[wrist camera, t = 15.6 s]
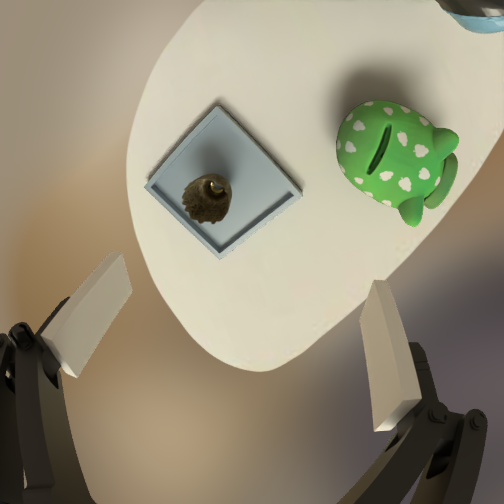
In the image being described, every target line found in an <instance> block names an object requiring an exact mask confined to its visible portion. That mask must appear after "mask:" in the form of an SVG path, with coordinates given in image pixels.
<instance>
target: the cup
mask: <svg viewBox="0 0 504 504" xmlns="http://www.w3.org/2000/svg"><path fill="white" fill-rule="evenodd" d="M214 182H215V183H216V184H219V185H220V186H221V187H222V189H219V190H218V189H216V188H215V187H214ZM184 191H185V192H184V194H183V196H182V199H183V200H182V204H183V205H186V207H185V209H184V211H185V212H189V217H190V219H192V220H196V221H198V223H199V224H203V223H204V222H211V224H215V223H216V222H220V221H222V220H223V219H224V217H225V216H226V214H228V211H229V207H230V203H231V199H232V189H231V186H230V183H229V182H228V181H227V180H226V179H225V178H224V177H223V176H221V175H219V174H214V173H211V174H205V175H203V176H201V177H199V178H197V179H195V180H194V181H192V182H190V183H189V184H188V186H187V187H186V188H185V189H184Z"/></svg>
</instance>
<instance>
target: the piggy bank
mask: <svg viewBox="0 0 504 504" xmlns="http://www.w3.org/2000/svg"><path fill="white" fill-rule="evenodd" d="M458 143H459V137H458V135H457V134H456V133H455V132H453V131H452V130H450V129H446V128H435V127H434V126H433V125H432V124H431V123H430V122H429V121H428V120H427V119H426V118H424V117H423V116H422V115H420V114H419V113H417V112H415V111H413V110H411V109H409V108H406V107H404V106H402V105H399V104H397V103H393V102H389V101H383V100H373V101H368V102H365V103H363V104H361V105H359V106H357V107H356V108H354V109H353V110H352V111H351V112H350V113H349V114H348V115H347V116H346V118H345V119H344V121H343V122H342V124H341V126H340V129H339V131H338V136H337V141H336V152H337V159H338V163H339V166H340V168H341V170H342V172H343V173H344V175H345V177H346V178H347V179H348V180H349V181H350V182H351V183H352V184H353V185H354V186H355V187H357V188H358V189H359V190H361V191H362V192H364V193H365V194H367V195H368V196H370V197H372V198H373V199H375V200H377V201H378V202H380V203H382V204H385V205H388V206H391V207H394V208H397V209H398V210H399V212H400V215H401V217H402V219H403V220H404V221H405V223H407V224H408V225H410V226H412V227H416V226H417V225H418V224H419V223H420V221H421V219H422V214H423V205H425V206H426V207H427V208H429V209H434V208H436V207H437V206H439V205H440V204H441V203H442V202H443V200H444V199H445V197H446V196H447V194H448V193H449V191H450V189H451V187H452V185H453V182H454V180H455V177H456V174H457V168H458V161H457V158H456V156H455V154H454V153H452V152H453V151H454V150H455V149H456V147H457V146H458Z"/></svg>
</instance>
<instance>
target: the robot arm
mask: <svg viewBox="0 0 504 504" xmlns="http://www.w3.org/2000/svg"><path fill="white" fill-rule="evenodd" d="M436 1H437V2H438V3H439V4H440V6H441V8H442V9H443V10H444V11H446V12H447V13H449V14H450V15H451V16H452V17H453V18H454V19H455V20H456V21H457V22H458V23H459V24H460V25H461V26H462V27H464V28H465V29H467V30H469V31H471V32H474V33H480V34H489V33H497V32H501V31H504V0H436ZM132 292H133V291H132V288H131V284H130V280H129V277H128V273H127V269H126V265H125V262H124V257H123V254H122V253H120V252H110V253H109V255H108V256H107V257H106V258H105V259H104V260H103V261H102V262H101V263H100V264H99V265H98V266H97V268H96V269H95V270H94V271H93V272H92V273H91V274H90V275H89V277H88V278H87V279H86V280H85V281H84V282H83V283H82V284H81V286H80V287H79V288H78V289H77V290H76V291H75V292H74V294H73V295H72V296H71V297H67V298H66V299H64V300H63V301H61V302H60V304H59V305H58V306H57V307H56V308H55V310H54V311H53V312H52V313H51V316H49V317H48V318H47V320H46V321H45V322H44V323H43V325H42V326H41V327H40V328H39V330H38V331H37V333H36V334H35V335H34V333H33V332H32V330H31V328H30V327H29V325H28V324H27V323H25V322H21V323H17V324H16V325H14V326H13V327H12V328H11V330H10V331H9V334H8V336H9V338H10V339H11V341H10V339H9V338H8V336H7V335H6V334H4V333H2V334H0V504H96V503H95V502H94V500H93V499H92V498H91V496H90V493H89V491H88V488H87V485H86V482H85V479H84V476H83V473H82V470H81V467H80V464H79V461H78V457H77V454H76V450H75V447H74V443H73V439H72V435H71V430H70V426H69V421H68V416H67V412H66V406H65V400H64V394H63V387H62V379H61V374H60V371H59V368H60V367H61V366H62V368H63V369H64V371H65V372H66V373H67V374H69V375H71V376H74V377H76V378H78V376H79V375H80V373H81V371H82V369H83V368H84V366H85V364H86V363H87V361H88V359H89V357H90V356H91V355H92V353H93V351H94V350H95V348H96V347H97V345H98V343H99V342H100V340H101V338H102V337H103V335H104V334H105V332H106V331H107V329H108V328H109V326H110V325H111V323H112V321H113V320H114V318H115V317H116V315H117V314H118V312H119V311H120V310H121V308H122V307H123V305H124V304H125V302H126V301H127V299H128V298H129V296H130V295H131V293H132ZM360 325H361V331H362V337H363V342H364V349H365V355H366V361H367V369H368V377H369V385H370V393H371V403H372V412H373V424H374V431H385V430H391V429H392V428H393V427H394V426H395V425H396V424H397V433H395V434H394V435H393V436H392V437H391V438H390V439H389V440H388V442H389V444H388V445H387V446H386V447H385V449H384V450H383V451H382V453H381V454H380V455H379V457H378V458H377V459H376V460H375V462H374V463H373V464H372V465H371V466H370V468H369V469H368V470H367V471H366V472H365V474H364V475H363V476H362V477H361V478H360V479H359V481H358V482H357V483H356V484H355V485H354V486H353V487H352V488H351V489H350V490H349V492H348V493H347V494H346V495H345V496H344V497H343V498H342V499H341V500H340V501H339V502H338V503H337V504H400V502H401V501H402V500H403V498H404V497H405V495H406V494H407V493H408V491H409V490H410V489H411V487H412V485H413V484H414V483H415V481H416V480H417V478H418V477H419V475H420V473H421V472H422V470H423V469H424V470H423V473H422V476H421V478H420V481H419V483H418V486H417V488H416V491H415V493H414V495H413V498H412V500H411V502H410V504H470V503H471V500H472V496H473V493H474V490H475V486H476V482H477V479H478V475H479V470H480V466H481V461H482V456H483V451H484V446H485V440H486V433H487V426H488V425H487V418H486V416H485V414H484V413H483V412H482V411H480V410H479V409H472V410H470V411H469V412H468V413H467V414H466V415H464V414H458V413H453V412H450V411H448V409H447V407H446V406H445V405H444V404H443V403H441V402H439V400H438V397H437V393H436V389H435V385H434V382H433V378H432V374H431V371H430V367H429V364H428V363H427V357H426V354H425V351H424V350H423V348H422V347H421V346H420V344H419V343H417V342H415V343H414V342H408V341H407V338H406V335H405V331H404V328H403V324H402V321H401V318H400V315H399V312H398V309H397V306H396V303H395V301H394V297H393V295H392V292H391V289H390V287H389V284H388V281H383V280H373V283H372V286H371V289H370V292H369V295H368V298H367V301H366V304H365V306H364V309H363V311H362V314H361V317H360ZM6 371H8V372H9V374H10V376H9V378H8V377H7V376H6ZM23 466H24V469H23ZM24 471H25V476H26V480H27V487H26V488H25V489H24Z"/></svg>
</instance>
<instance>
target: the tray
mask: <svg viewBox="0 0 504 504" xmlns="http://www.w3.org/2000/svg"><path fill="white" fill-rule="evenodd" d="M211 173H214V174H219V175H221V176H223V177H224V178H225V179H226V180H227V181H228V182H229V183H230V186H231V189H232V199H231V203H230V207H229V211H228V214H226V216H225V217H224V219H223V220H222V221H220V222H216V223H215V224H211V222H204V223H203V224H199V223H198V221H196V220H192V219H190V217H189V212H185V211H184V209H185V207H186V205H183V204H182V200H183V199H182V196H183V194H184V192H185V191H184V189H185V188H186V187H187V186H188V184H189V183H190V182H192V181H194V180H195V179H197V178H199V177H201V176H203V175H205V174H211ZM214 187H215V188H216V189H218V190H219V189H222V187H221V186H220V185H219V184H216V183H215V182H214ZM144 188H145V189H146V190H147V191H148V192H149V193H150V194H151V195H152V196H153V197H154V198H155V199H156V200H157V201H158V202H159V203H160V204H161V205H163V206H164V207H165V208H166V209H167V210H168V211H169V212H170V213H171V214H172V215H173V216H174V217H175V218H176V219H177V220H178V221H179V222H180V223H181V224H182V225H183V226H184V227H185V228H186V229H187V230H189V231H190V232H191V233H192V234H193V235H194V236H195V237H196V238H197V239H198V240H199V241H200V242H201V243H202V244H203V245H204V246H205V247H207V248H208V249H209V250H210V251H211V252H212V253H213V254H214V255H215V256H216V257H217V258H218V259H219V260H220V259H222V258H223V257H224V256H226V255H227V254H228V253H229V252H231V251H232V250H233V249H235V248H236V247H237V246H239V245H240V244H241V243H242V242H244V241H245V240H246V239H248V238H249V237H250V236H251V235H253V234H254V233H255V232H257V231H258V230H259V229H261V228H262V227H263V226H264V225H266V224H267V223H268V222H270V221H271V220H272V219H274V218H275V217H276V216H278V215H279V214H280V213H281V212H283V211H284V210H285V209H287V208H288V207H289V206H291V205H292V204H293V203H295V202H296V201H297V200H299V199H300V198H301V197H302V196H303V194H302V191H301V190H300V189H299V188H298V187H297V186H296V184H295V183H294V182H293V181H292V180H291V179H290V178H289V177H288V175H287V174H286V173H285V172H284V171H283V170H282V169H281V168H280V167H279V166H278V164H277V163H276V162H275V161H274V160H273V159H272V158H271V157H270V156H269V155H268V154H267V153H266V152H265V150H264V149H263V148H262V147H261V146H260V145H259V144H258V143H257V142H256V141H255V140H254V139H253V138H252V137H251V136H250V135H249V134H248V133H247V132H246V131H245V130H244V129H243V128H242V127H241V126H240V125H239V124H238V123H237V122H236V121H235V120H234V119H233V118H232V117H231V116H230V115H229V114H228V113H227V112H226V111H225V110H224V109H223V108H222V107H221V106H216V107H215V108H214V109H213V110H212V111H211V112H210V113H209V114H208V115H207V116H206V117H205V118H204V119H203V120H202V121H201V122H200V123H199V124H198V126H197V127H196V128H195V129H194V130H193V131H192V132H191V133H190V134H189V135H188V136H187V137H186V138H185V139H184V141H183V142H182V143H181V144H180V145H179V146H178V147H177V148H176V149H175V151H174V152H173V153H172V154H171V155H170V156H169V157H168V159H167V160H166V161H165V162H164V163H163V164H162V166H161V167H160V168H159V169H158V170H157V172H156V173H155V174H154V175H153V177H152V178H151V179H150V180H149V181H148V183H147V184H146V185H145V186H144Z"/></svg>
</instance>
